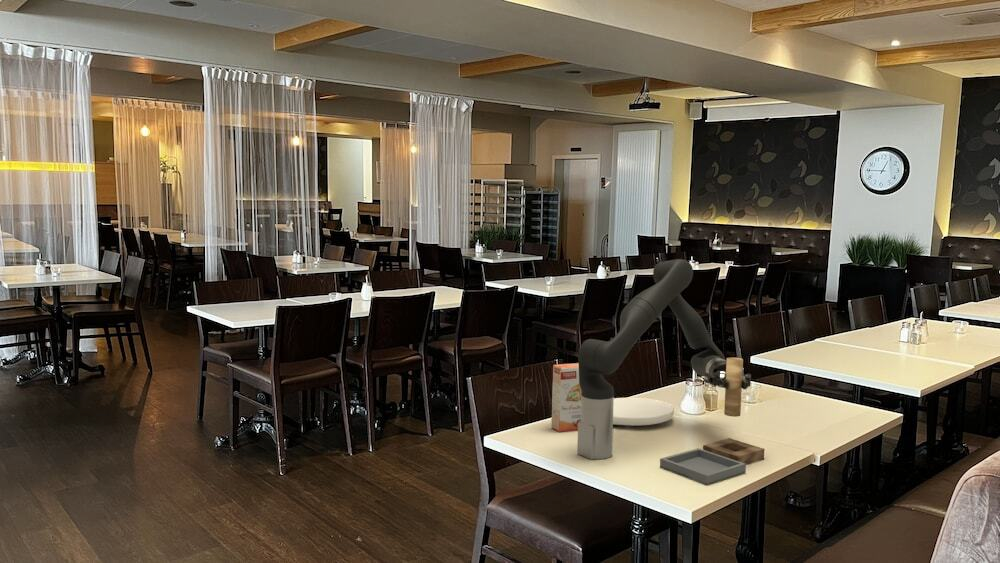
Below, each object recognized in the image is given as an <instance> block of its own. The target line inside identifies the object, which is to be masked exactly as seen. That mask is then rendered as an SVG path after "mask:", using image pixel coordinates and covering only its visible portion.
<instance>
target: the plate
mask: <svg viewBox="0 0 1000 563" xmlns="http://www.w3.org/2000/svg"><path fill="white" fill-rule="evenodd" d="M674 414H675V408H674V406H673V404H670V403H669V402H666V401H664V400H659V399H652V398H644V397H642V398H641V397H616V398H615V397H614V404H613V425H618V426H631V427H634V426H652V425H658V424H662V423H664V422H667V421H669V420H671V419H672V418H673V417H674Z"/></svg>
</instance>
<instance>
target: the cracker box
mask: <svg viewBox="0 0 1000 563" xmlns="http://www.w3.org/2000/svg"><path fill="white" fill-rule="evenodd" d="M551 391H552V396H551V397H552V398H551V428H552V429H554V430H555V431H557V432H559V433H560V432H561V433H562V432H570V431H578V422H580V421H581V388H580V385H579V362H576V363H562V364H561V363H560V364H553V366H552V390H551Z"/></svg>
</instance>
